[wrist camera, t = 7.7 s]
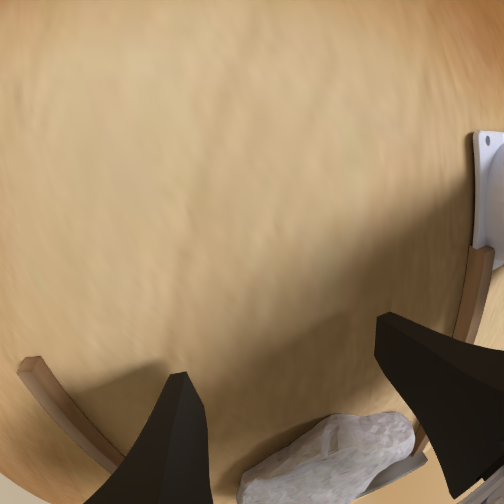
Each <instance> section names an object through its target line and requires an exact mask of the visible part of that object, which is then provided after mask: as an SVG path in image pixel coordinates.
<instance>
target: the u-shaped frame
mask: <svg viewBox="0 0 504 504" xmlns="http://www.w3.org/2000/svg"><path fill="white" fill-rule="evenodd" d="M472 246H473V244H472V245H470V246H469V254H468V262H467V270H466V276H465V282H464V288H463V294H462V299H461V304H460V309H459V313H458V317H457V322H456V326H455V330H454V333H453V337H452V338H454V339H457V340H460V341H463V342H466V343H469V344H474V341H475V338H476V335H477V332H478V328H479V325H480V322H481V318H482V314H483V311H484V307H485V303H486V299H487V294H488V290H489V285H490V280H491V275H492V270H493V264H494V258H495V250H494V248H492V247H489V246H487V245H486V246H484V247H481V248H479V249H475V248H473V247H472ZM16 373H17V375H18V376H19V377H20V379H21V380H22V382H23V383H24V384H25V386H26V387H27V388H28V390H29V391H30V392H31V393H32V395H33V396H34V397H35V398H36V400H37V401H38V402H39V403H40V405H41V406H42V407H43V408H44V409H45V411H46V412H47V413H48V414H49V415H50V416H51V417H52V418H53V420H54V421H55V422H56V423H57V424H58V425H59V426H60V427H61V428H62V429H63V430H64V431H65V432H66V433H67V434H68V435H69V436H70V437H71V438H72V439H73V440H74V441H75V442H76V443H77V444H78V445H79V446H80V447H81V448H82V449H83V450H84V451H85V452H86V453H87V454H88V455H90V456H91V457H92V458H93V459H94V460H95V461H96V462H98V463H99V464H100V465H101V466H102V467H103V468H105V469H106V470H107V471H108V472H110V473H111V474H113V473H114V471H115V470H116V469H117V468H118V466H119V465H120V464H121V463H122V461H123V460H124V458H125V457H124V456H123V455H122V454H121V453H120V452H119V451H117V450H116V449H115V448H114V447H113V446H112V445H111V444H110V443H109V442H108V441H107V440H106V439H105V437H104V436H103V435H102V434H101V433H100V432H99V431H98V430H97V429H96V428H95V427H94V426H93V425H92V423H91V422H90V421H89V420H88V419H87V418H86V417H85V415H84V414H83V413H82V412H81V411H80V410H79V408H78V407H77V406H76V405H75V403H74V402H73V401H72V400H71V398H70V397H69V396H68V395H67V393H66V392H65V391H64V389H63V388H62V387H61V385H60V384H59V383H58V381H57V380H56V378H55V377H54V376H53V374H52V373H51V371H50V370H49V368H48V367H47V365H46V364H45V362H44V361H43V359H42V358H41V356H37V357H27V358H25V359H24V361H23V363H22V364H21V366H20V367H19V369H18V371H17V372H16ZM428 442H429V439H428V437H427V435H426V433H425V431H424V429H423V428H422V426H421V424H420V426H419V428H418V430H417V432H416V434H415V443H414V447H413V450H412V452H411V453H410V454H409V455H408V456H407V457H406V458H405V459H403V460H400V461H397V462H394V463H393V464H391V465H389V466H388V467H387V468H386V469H384V470H382V471H381V472H379V473H378V474H377V475H376V476H375V477H374V479H373V480H372V481H371V482H370V484H369V486H368V487H367V488H366V490H365V491H364V492H363V493H361V494H360V495H358V496H357V497H356V498H355V499H357V498H359V497H362V496H364V495H366V494H369V493H371V492H373V491H375V490H377V489H379V488H381V487H383V486H386V485H388V484H390V483H392V482H394V481H396V480H397V479H399V478H401V477H403V476H405V475H407V474H409V473H411V472H412V471H414V470H416V469H417V468H419V467H421V466H422V465H424V464H425V463H426V462H427V460H428V459H427V458H426V456H425V455H424V453H423V452H422V451H423V450H424V448H425V446H426V445H427V443H428Z"/></svg>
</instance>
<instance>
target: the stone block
mask: <svg viewBox="0 0 504 504" xmlns="http://www.w3.org/2000/svg"><path fill="white" fill-rule="evenodd" d="M414 443H415V434H414V431H413V427H412V424H411V422H410V421H409V420H408V419H407V418H406V417H405V416H404V415H402V414H401V413H399V412H387V413H386V412H382V413H378V414H372V415H368V416H362V417H359V416H354V415H351V414H333V415H330V416H328V417H327V418H325V419H324V420H322V421H320V422H319V423H317V425H315V426H314V427H313V428H312V429H311V430H310V431H308V432H306V433H305V434H303V435H301V436H300V437H299V438H297V439H296V440H295V441H293V442H292V444H290V445H289V446H287V447H285V448H283V449H282V450H280V451H278V452H276V453H273V454H272V455H271V456H269V457H268V458H267V459H265V460H263V461H262V462H260V463H258V464H257V465H256V466H254V467H253V468H251V469H249V470H247V471H245V472H244V473H243V474H242V476H241V482H240V486H239V488H238V491H237V495H236V500H237V504H349V503H350V502H352V501H353V500H354V499H355V498H356V497H357V496H358V495H360V494H361V493H363V492H364V491H365V490H366V488H367V487H368V486H369V484H370V482H371V481H372V480H373V479H374V477H375V476H376V475H377V474H378V473H379V472H381V471H382V470H384V469H386V468H387V467H388V466H389V465H391V464H393V463H394V462H397V461H400V460H403V459H405V458H406V457H407V456H408V455H409V454H410V453H411V452H412V450H413V447H414Z"/></svg>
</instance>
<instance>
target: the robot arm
mask: <svg viewBox="0 0 504 504" xmlns="http://www.w3.org/2000/svg"><path fill="white" fill-rule="evenodd" d="M473 146H474V160H475V221H474V235H473V246H472V247H473V248H475V249H479V248H481V247H484V246H486V245H487V246H489V247H492V248H494V250H495V258H494V264H493V270H495V269H497V268H498V267H500V266H502V265H503V264H504V133H503V132H493V131H480V130H477V131H475V132H474V134H473ZM493 270H492V271H493ZM374 356H375V358H376V360H377V362H378V364H379V366H380V367H381V369H382V371H383V373H384V374H385V376H386V377H387V378H388V380H389V381H390V382H391V384H392V385H393V386H394V388H395V389H396V390H397V392H398V393H399V394H400V396H401V397H402V398H403V400H404V401H405V402H406V404H407V405H408V406H409V407H410V409H411V410H412V411H413V413H414V414H415V416H416V417H417V419H418V420H419V422H420V424H421V426H422V428H423V429H424V431H425V433H426V435H427V437H428V439H429V441H430V443H431V445H432V447H433V449H434V451H435V453H436V455H437V458H438V461H439V463H440V465H441V468H442V471H443V473H444V476H445V479H446V482H447V486H448V489H449V493H450V494H451V496H452V498H453V499H456V498H457V497H458V496H460V495H461V494H463V493H464V492H465V491H466V490H468V489H469V488H470V487H471V486H473V485H474V484H475V483H476V482H478V481H479V480H480V479H481V478H483V480H484V481H485V482H484V483H483V484H481V485H480V486H479V487H478V488H477V489H476V490H475V491H473V492H472V493H470V494H469V495H468V496H467V497H465V498H464V499H463V500H462V501H460V502H459V503H457V504H504V351H502V350H495V349H490V348H485V347H481V346H477V345H473V344H469V343H466V342H463V341H460V340H457V339H454V338H451V337H448V336H446V335H443V334H441V333H438V332H436V331H433V330H431V329H429V328H426V327H424V326H422V325H420V324H417V323H415V322H413V321H411V320H408V319H406V318H404V317H402V316H399V315H397V314H394V313H392V312H388V313H385V314H383V315H380V316H378V317H377V323H376V338H375V350H374ZM83 504H213V499H212V494H211V489H210V479H209V457H208V429H207V422H206V416H205V409H204V405H203V403H202V401H201V399H200V398H199V396H198V394H197V392H196V390H195V388H194V386H193V384H192V382H191V380H190V378H189V376H188V374H187V372H181V373H175V374H170V376H169V377H168V379H167V381H166V384H165V386H164V388H163V390H162V392H161V395H160V397H159V399H158V401H157V403H156V405H155V407H154V409H153V411H152V413H151V415H150V417H149V419H148V421H147V423H146V425H145V426H144V428H143V430H142V432H141V433H140V435H139V437H138V439H137V440H136V442H135V444H134V445H133V447H132V448H131V450H130V451H129V453H128V454H127V456H126V457H125V458H124V460H123V461H122V463H121V464H120V465H119V466H118V468H117V469H116V470H115V471H114V473H113V474H112V475H111V476H110V477H109V479H108V480H107V481H106V482H105V483H104V484H103V485H102V486H101V487H100V488H99V489H98V490H97V491H96V492H95V493H94V494H93V495H92V496H91V497H90V498H89V499H88V500H87V501H86V502H84V503H83Z"/></svg>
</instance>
